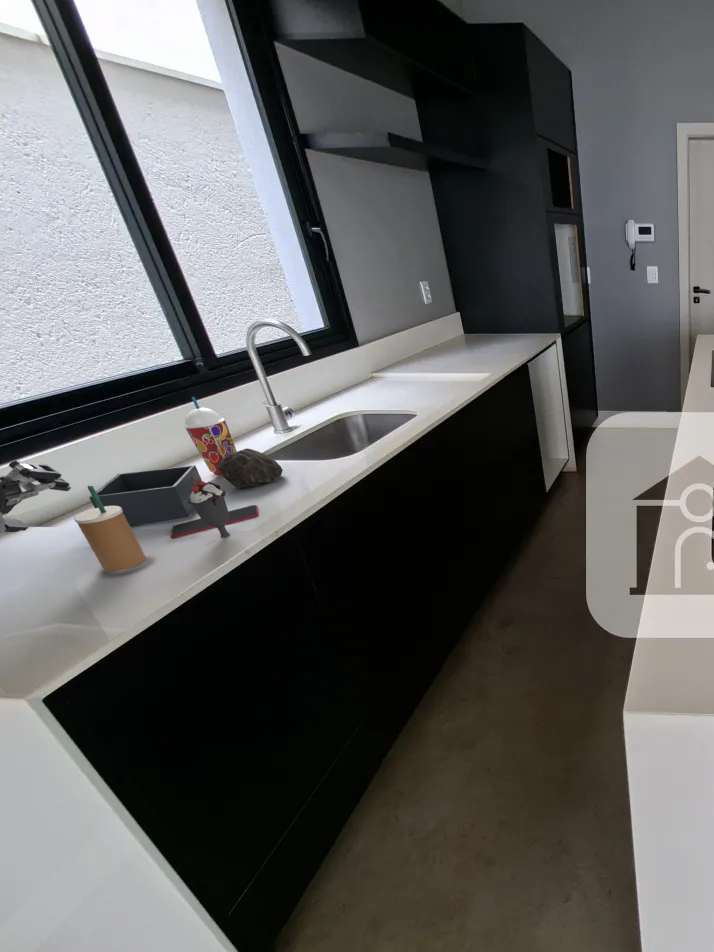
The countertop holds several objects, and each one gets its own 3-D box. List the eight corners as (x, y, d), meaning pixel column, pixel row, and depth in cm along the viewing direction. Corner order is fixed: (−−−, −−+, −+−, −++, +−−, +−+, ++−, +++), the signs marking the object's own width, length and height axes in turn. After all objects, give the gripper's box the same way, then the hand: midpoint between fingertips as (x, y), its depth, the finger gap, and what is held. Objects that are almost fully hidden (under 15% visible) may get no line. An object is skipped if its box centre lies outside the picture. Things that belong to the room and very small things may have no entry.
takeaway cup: (98, 578, 103) (50, 495, 95) (112, 562, 108) (68, 482, 100) (141, 571, 105) (98, 489, 98) (153, 555, 110) (113, 477, 103)
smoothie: (252, 469, 150) (219, 394, 141) (216, 480, 144) (178, 403, 135) (239, 464, 154) (206, 392, 145) (203, 475, 148) (166, 400, 139)
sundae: (216, 552, 111) (180, 482, 105) (202, 544, 115) (166, 476, 108) (253, 537, 116) (221, 470, 109) (239, 531, 120) (207, 465, 113)
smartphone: (172, 525, 120) (256, 504, 128) (174, 529, 121) (258, 507, 128) (170, 537, 115) (258, 514, 123) (172, 541, 115) (259, 517, 123)
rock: (294, 472, 146) (271, 437, 140) (260, 495, 137) (234, 459, 131) (264, 475, 148) (240, 441, 143) (228, 498, 139) (201, 463, 134)
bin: (106, 529, 120) (88, 497, 116) (133, 504, 131) (117, 473, 128) (189, 517, 125) (174, 486, 122) (207, 494, 137) (195, 465, 133)
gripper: (-41, 440, 78) (58, 458, 94) (-133, 518, 75) (-15, 523, 91) (10, 475, 80) (99, 487, 95) (-78, 553, 77) (29, 552, 92)
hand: (43, 505), depth 93 cm, fingers open, 8 cm apart
